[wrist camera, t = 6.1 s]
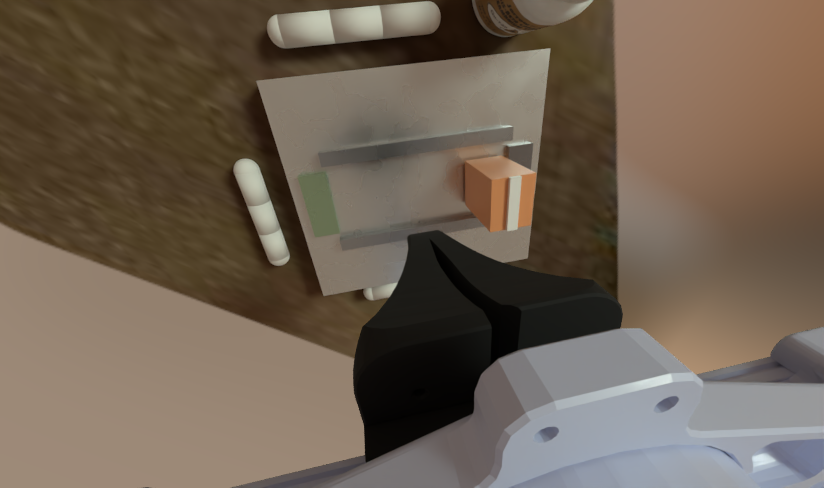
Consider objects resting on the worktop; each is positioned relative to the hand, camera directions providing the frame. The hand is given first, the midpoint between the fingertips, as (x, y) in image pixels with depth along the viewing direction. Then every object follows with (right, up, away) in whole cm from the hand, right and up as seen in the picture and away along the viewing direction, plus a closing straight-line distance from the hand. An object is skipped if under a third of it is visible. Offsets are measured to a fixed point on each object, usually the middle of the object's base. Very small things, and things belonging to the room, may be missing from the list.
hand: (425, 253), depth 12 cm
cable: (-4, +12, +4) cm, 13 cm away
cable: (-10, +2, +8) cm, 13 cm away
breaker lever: (+4, +5, +7) cm, 9 cm away
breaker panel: (0, +5, +8) cm, 10 cm away
